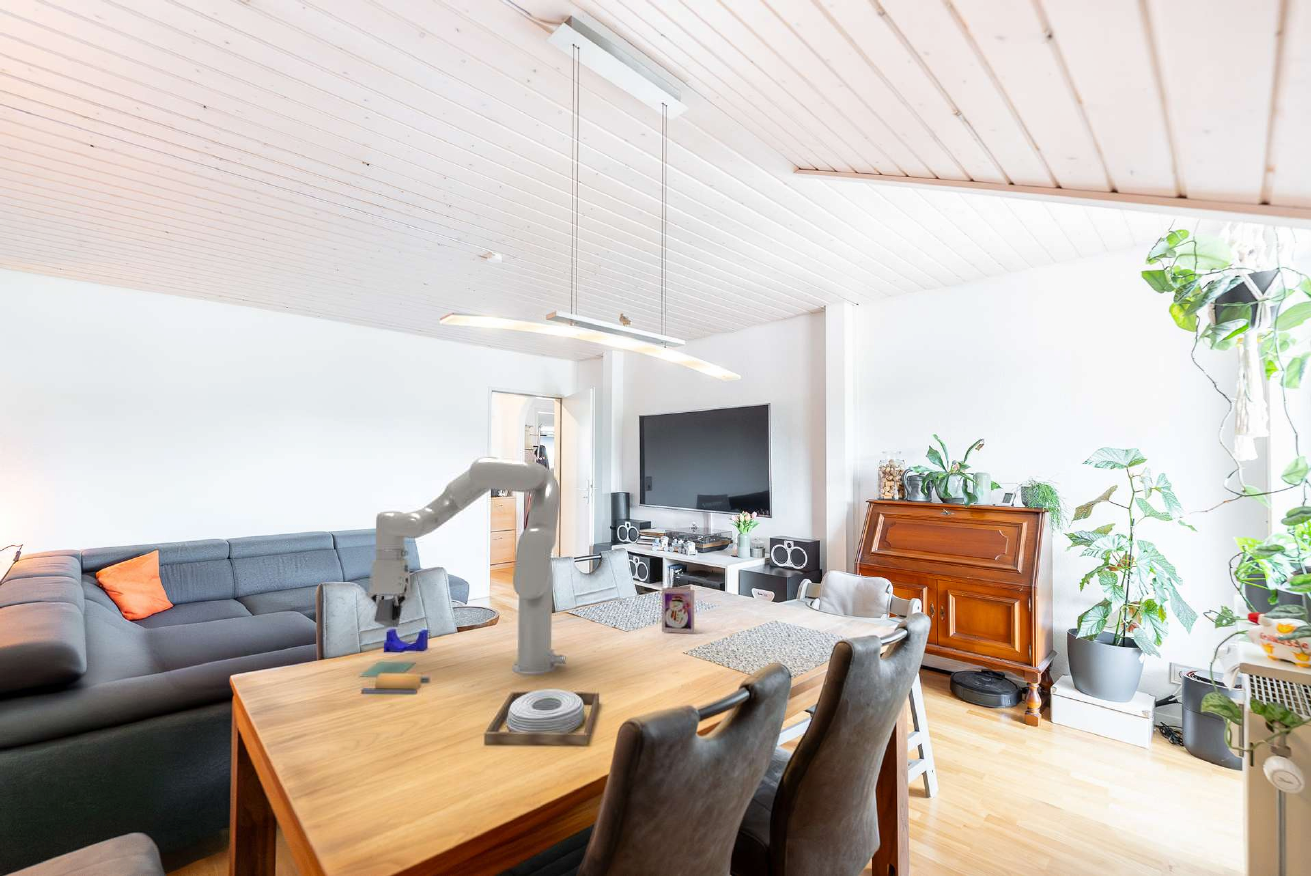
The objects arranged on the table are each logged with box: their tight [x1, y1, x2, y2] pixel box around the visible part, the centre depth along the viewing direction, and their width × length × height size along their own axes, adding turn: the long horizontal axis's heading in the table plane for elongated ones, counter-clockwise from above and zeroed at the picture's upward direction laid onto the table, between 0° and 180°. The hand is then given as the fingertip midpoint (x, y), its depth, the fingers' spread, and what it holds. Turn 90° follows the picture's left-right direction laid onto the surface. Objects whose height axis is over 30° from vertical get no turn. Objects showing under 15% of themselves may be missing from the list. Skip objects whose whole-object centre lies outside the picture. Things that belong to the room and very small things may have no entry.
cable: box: [506, 688, 585, 733], centre depth 133 cm, size 18×18×6 cm
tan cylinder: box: [374, 673, 422, 690], centre depth 152 cm, size 10×4×4 cm, turn 89°
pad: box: [358, 661, 417, 678], centre depth 166 cm, size 11×11×1 cm
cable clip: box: [383, 628, 429, 654], centre depth 184 cm, size 12×4×6 cm, turn 87°
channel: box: [360, 676, 431, 695], centre depth 153 cm, size 14×9×2 cm, turn 89°
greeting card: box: [661, 585, 695, 634], centre depth 206 cm, size 11×7×15 cm, turn 80°
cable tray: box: [483, 690, 600, 747], centre depth 132 cm, size 22×22×4 cm
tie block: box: [373, 598, 403, 628], centre depth 166 cm, size 4×8×6 cm, turn 179°
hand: (388, 618), depth 167 cm, fingers closed on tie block, 3 cm apart
